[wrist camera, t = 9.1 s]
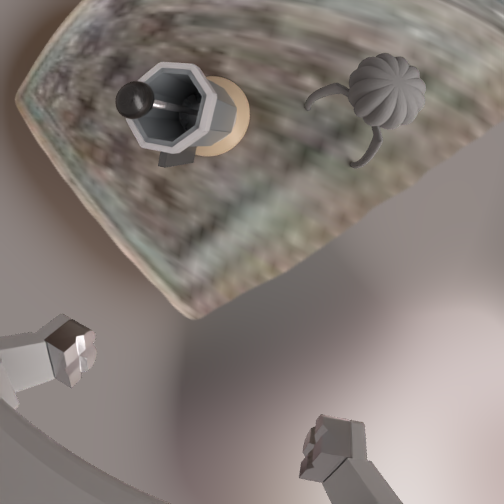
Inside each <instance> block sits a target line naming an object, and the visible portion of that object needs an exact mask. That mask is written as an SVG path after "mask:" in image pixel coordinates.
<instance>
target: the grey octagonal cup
mask: <svg viewBox="0 0 504 504" xmlns="http://www.w3.org/2000/svg"><path fill="white" fill-rule="evenodd" d="M138 81H141V82H144V83H146V84H148V85H149V86H150V87H151V88H152V90H153V92H154V96H155V100H159V101H164V102H168V103H172V104H177V105H181V104H182V103H183V101H184V100H185V99H186V98H187V97H189V96H190V95H193V94H196V93H200V94H201V96H202V99H201V103H200V107H199V111H198V115H197V120H196V124H195V126H193V127H192V128H191V129H189V130H188V131H187V130H185V129H184V128H183V126H182V125H181V123H180V121H179V112H175V111H169V110H164V109H158V108H153V107H152V109H151V110H150V112H149V113H148V114H146V115H145V116H143V117H141V118H138V119H128V118H126V121H127V123H128V125H129V127H130V129H131V130H132V132H133V134H134V136H135V137H136V139H137V141H138V143H139V145H140V146H141V147H142V148H146V149H152V150H157V151H161V152H160V158H159V163H158V166H161V167H171V166H177V165H183V164H189V163H193V162H194V158H195V154H196V155H199V156H216V155H220V154H223V153H225V152H227V151H229V150H231V149H232V148H233V147H235V146H236V145H237V144H238V143H239V142H240V141H241V139H242V138H243V136H244V135H245V133H246V131H247V128H248V125H249V121H250V107H249V103H248V100H247V97H246V96H245V94H244V92H243V91H242V90H241V89H240V88H239V87H238V86H237V85H236V84H235V83H233V82H232V81H230V80H228V79H225V78H222V77H217V76H207V77H205V75H204V74H203V72H202V71H201V69H200V68H199V67H197V66H196V65H194V64H187V63H173V62H161V63H160V62H159V63H158V64H157V65H156V66H154V67H153V68H152V69H151V70H149V71H148V72H147V73H146V74H145V75H143V76H142V77H141V78H140V79H139V80H138Z"/></svg>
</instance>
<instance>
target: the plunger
mask: <svg viewBox="0 0 504 504" xmlns="http://www.w3.org/2000/svg"><path fill="white" fill-rule="evenodd" d="M201 99H202V96H201V94H200V93H196V94H193V95H190V96H189V97H187V98H186V99H185V100H184V101H183V103H182V104H181V105H177V104H172V103H168V102H164V101H159V100H155V96H154V92H153V90H152V88H151V87H150V86H149V85H148V84H146V83H144V82H141V81H133V82H130V83H127V84H126V85H124V86H123V87H122V88H121V89H120V90H119V92H118V94H117V96H116V108H117V110H118V112H119V113H120V114H121V115H122V116H124V117H125V118H128V119H138V118H141V117H143V116H145V115H146V114H148V113H149V112H150V110H151V109H152V107H153V108H158V109H164V110H169V111H175V112H179V121H180V123H181V125H182V126H183V128H184V129H185V130H187V131H188V130H189V129H191V128H192V127H193V126H195V124H196V120H197V115H198V111H199V107H200V103H201Z"/></svg>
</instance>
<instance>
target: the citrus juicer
mask: <svg viewBox="0 0 504 504" xmlns="http://www.w3.org/2000/svg"><path fill="white" fill-rule="evenodd" d="M349 86H350V89H348V88H346V87H345V86H343V85H341V84H339V83H333V84H330V85H327V86H325V87H322V88H320V89H318V90H316V91H315V92H313V93H312V94H311V95H310V96H309V97H308V99H307V100H306V103H305V108H306V110H310V109H311V105H312V104H313V103H314V102H315V101H316V100H318V99H320V98H322V97H325V96H328V95H332V94H340V93H341V94H343V95H345V96H347V97H348V99H349V102H350V103H351V105H352V106H353V107H354V112H355V114H356V115H357V116H358V117H363V120H364V121H365V122H366V123H367V124H368V125H370V126H372V130H373V135H374V136H373V138H372V141H371V144H370V146H369V148H368V150H367V151H366V153H365V154H364V156H363V157H362V158H361V159H360V160H359V161H357V162H352V163H351V164H350V166H351V167H353V168H360V167H363V166H364V165H366V164H367V163H368V162H369V161H370V160H371V159H372V158H373V156H374V155H375V154H376V152H377V151H378V149H379V148H380V146H381V144H382V142H383V138H382V134H381V130H380V127H382V128H384V129H395V128H397V127H398V126H399V125H407V124H409V123H411V122H412V121H413V120H414V119H415V118H416V116H417V113H418V112H419V111H420V110H421V109H422V108H423V107H424V105H425V97H424V95H423V94H424V93H425V91H426V85H425V83H424V82H423V80H421V79H420V73H419V70H418V69H417V68H416V67H414V66H409V63H408V61H407V60H406V59H405V58H403V57H393V56H392V55H390V54H388V53H382V54H379V55H377V56H376V57H368V58H366V59H364V60H363V61H362V62H361V63H360V64H359V66H358V69H357V70H355V71H354V72H353V73H352V74H351V75H350V79H349Z"/></svg>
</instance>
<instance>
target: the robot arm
mask: <svg viewBox="0 0 504 504" xmlns="http://www.w3.org/2000/svg"><path fill="white" fill-rule="evenodd" d="M95 340H96V338H95V332H93V331H92V330H90V329H89V328H87V327H85V326H84V325H82V324H80V323H78V322H77V321H75V320H73V319H71V318H69V317H68V316H66V315H64V314H60V315H58V316H57V317H56V318H54V319H53V320H51V321H50V322H49V323H47V324H46V325H45V326H43V327H42V328H41V329H39V330H38V331H37V332H36V333H32V332H28V333H22V334H16V335H9V336H3V337H0V504H171V503H169V502H166V501H164V500H162V499H159V498H157V497H154V496H152V495H150V494H148V493H145V492H143V491H141V490H139V489H137V488H135V487H133V486H131V485H128V484H126V483H124V482H123V481H120V480H119V479H117V478H115V477H113V476H111V475H109V474H107V473H106V472H104V471H102V470H100V469H98V468H97V467H95V466H93V465H91V464H90V463H88V462H86V461H85V460H83V459H82V458H80V457H79V456H77V455H75V454H74V453H72V452H71V451H69V450H68V449H66V448H65V447H63V446H62V445H60V444H59V443H57V442H56V441H55V440H53V439H52V438H50V437H49V436H47V435H46V434H45V433H44V432H42V431H41V430H40V429H38V428H37V427H36V426H34V425H33V424H32V423H31V422H29V421H28V420H27V419H26V418H24V417H23V416H22V415H21V414H20V413H18V412H17V411H16V410H15V409H16V408H17V407H18V406H19V401H18V398H17V396H16V394H15V392H18V391H21V390H24V389H27V388H30V387H33V386H36V385H39V384H42V383H45V382H48V381H50V380H53V379H54V378H56V379H57V380H59V381H61V382H62V383H64V384H65V385H67V386H69V387H70V388H73V386H74V385H75V384H76V383H77V382H78V381H79V380H80V379H81V378H82V372H85V371H89V370H90V369H91V367H92V366H93V365H94V363H95V361H96V357H97V349H96V347H95V345H94V343H93V342H94V341H95ZM366 451H367V450H366V434H365V424H364V423H363V422H359V421H353V420H348V419H343V418H338V417H333V416H328V415H323V414H321V415H320V416H319V417H318V418H317V420H316V426H315V427H313V428H311V429H310V431H309V432H308V434H307V436H306V439H305V442H304V446H303V454H304V455H305V458H304V460H303V461H302V462H301V467H300V475H299V478H301V479H306V480H310V481H316V482H321V483H322V484H323V486H324V488H325V491H326V493H327V495H328V497H329V499H330V501H331V503H332V504H403V503H402V502H401V500H400V499H399V498H398V496H397V495H396V494H395V492H394V491H393V490H392V488H391V487H390V486H389V484H388V483H387V482H386V480H385V479H384V478H383V476H382V475H381V474H380V473H379V471H378V470H377V468H376V467H375V466H374V464H373V463H372V462H371V461H368V460H367V452H366Z"/></svg>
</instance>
